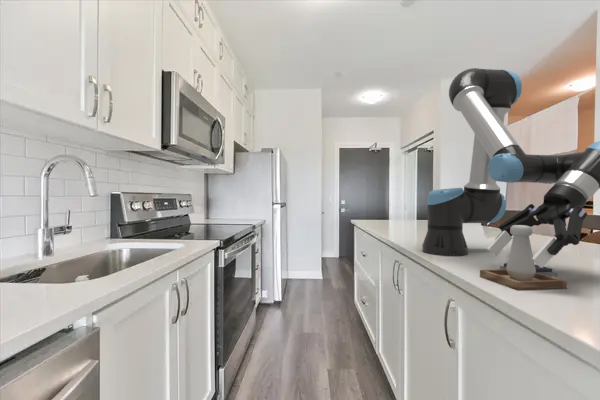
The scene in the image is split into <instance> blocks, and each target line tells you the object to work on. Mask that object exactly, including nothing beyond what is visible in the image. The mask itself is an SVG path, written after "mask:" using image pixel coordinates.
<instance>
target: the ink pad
mask: <svg viewBox="0 0 600 400" xmlns="http://www.w3.org/2000/svg"><path fill="white" fill-rule="evenodd" d="M506 266H507V263H506V262H505V263H503V265H500V266H499V269H506ZM535 269H536V273H540V274H543V275H547V276H557V275H558V272H557V271H556V272H555V271H553V268H551V267H547V266H544V267H543V268H541V267H539V266H538V265H537V264H535Z"/></svg>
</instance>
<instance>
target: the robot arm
mask: <svg viewBox="0 0 600 400" xmlns="http://www.w3.org/2000/svg"><path fill="white" fill-rule="evenodd" d="M522 90H523V84H522V80H521V78H520V76H519V75H518V74H517V73H515V72H514V71H512V70H506V69H491V68H479V67H478V68H477V67H475V68H473V67H471V68H467V69H465V70H463V71H461V72H459V73H458V74H457V75H456V76H455V77H454V78H453V80H452V81H451V83H450V85H449V88H448V97H449V101H450V104H451V105H452V107H453V108H454V110H456V111H457V112H460V113H461V114H462V116H463V117H464V119H465V120H466V123H467V124H468V126H469V127H470V129H471V130H472V132H473V134H474V139H473V146H472V155H471V165H470V171H469V172H470V173H469V181H468V182H467V183H465V185H464V187H451V188H450V187H449V188H441V189H436V190H434V189H433V190H431V191H429V192H428V194H427V195H428V196H427V202H426V203H427V204H426V205H427V231H426V235H425V237H424V239H423V243H422V250H421V251H422V252H424V253H427V254H432V255H439V256H456V257H457V256H467V255H468V253H469V247H468V244H467V241H466V239H465V236H464V232H463V226H464V225H463V224H482V225H484V224H491V223H496V222H497V221H498V220H500V219H501V218H502V217H503V216H504V215H505V212H506V210H507V209H506V208H507V200H506V198H505V196H504V195H503V194H502V193H501V187H500V186H499V185H498V184H497V182H501V183H509V184H513V183H534V184H535V183H536V184H537V183H538V184H551V185H552V184H554V185H553V186H552V187H550V189H548V191H547V192H546V193H544V196H543V203H542V204H541V205H539V206H535V205H534V204H532V203H531V204H528V205H527V206H526V207H525V208H524V209H522V210H521V211H519V212H518V213H516V214H515V215H514V216H512V217H510V218H509V219H508V220H506V221H504V222H503V223H502V224H500V225H499V226H498V229H499V230H500V231H501V232H500V233H499V234H498V235H497V236H496V237H495V239H494V241H493V242H492V243H491V244H490V245H489V246H488V247H487V250H488V251H489V252H490V253H491V255H493V256H494V257H497V256H498V255H499V254H500V253H501V251H503V249H504V248H505V247H506V246H507V245H508V243H510V242H511V241H512V240H513V236H514V235H512V234H511V233H510V228H511V227H512V226H513V225H526V226H530V227H531V228H533V227H534V226H540V225H550V226H551V225H553V228H554V233H555V234H553V236H550V237H549V239H547V241H545V243H543V245H542V246H541V248H540V249H539V250H538V251H537V252H536V253H535V254H533V258H532V259H533V261H534V264H535V265H538V266H539V267H541V268H543V267H546V264H548V262H549V261H550V260H551V259H552V258H553V257H554V256H557V255H558V253H559V252H561V251H562V249H563V248H564V247H566V246H568V245H570V244H571V245H573V246H577V245H579V244H580V239H581V234H582V229H583V222H584V220H585V218H586V217H587V216H588V212H587V211H586V210H585V209H584V207H585V205H587V202H588V201H590V200H591V198H592V197H593V196H594V195H595V194H596V193H597V192H598V190H599V189H600V140H599V141H594V142H593V143H591V144H590V145H589V146H588V147H586V148H585V150H583V151H582V152H573V153H568V154H556V155H555V154H527V153H525V151H524V150H523V149H522V147H521V146H520V144H519V143H518V142H517V141H516V140H515V138H514V137H513V135H512V134H511V132H510V130H508V128H507V127H506V125H505V122H504V121H505V115H506V114H508V113H509V112H510V111H511V107H512V106H513V105H514V104H516V103H517V101H518V99H519V98H520V97H521V95H522ZM567 219H568V221H567ZM566 221H567V222H566Z"/></svg>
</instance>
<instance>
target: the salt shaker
mask: <svg viewBox="0 0 600 400" xmlns="http://www.w3.org/2000/svg"><path fill="white" fill-rule="evenodd" d="M510 233H511V234H512V235H513V236H512V240H511V241H512V242H511V247H510V251H509V255H508V259H507V266H506V271H507V272H508V274H509V276H510V278H511V279H513V280H516V281H532V279H533V277H534V275H535V273H536V269H535V265H536V263H535V262H534V261H533V259H532V258H533V257H534V254H533V250H532V246H531V240H530V236H532V235H533V227H530V226H526V225H513V226H512V227H511V228H510Z"/></svg>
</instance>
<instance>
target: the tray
mask: <svg viewBox="0 0 600 400" xmlns="http://www.w3.org/2000/svg"><path fill="white" fill-rule="evenodd" d="M479 278H483V279H486V280H488V281H491V282H493V283H496V284H499V285H502V286H504V285H505V287H507V286H508V288H509V289H513V290H516V291H535V290H536V291H537V290H539V291H540V290H558V289H559V290H562V289H563V290H564V289H566V290H567V289H568V285H567V284H568V282H567V281H568V280H565V279H562V278H557V277H555V276H552V275H543V274H540V273H535V275H534V277H533V279H532V281H516V280H513V279H511V278H510V276H509V274H508V272H507V271H506V269H501V268H499V269H479Z"/></svg>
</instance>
